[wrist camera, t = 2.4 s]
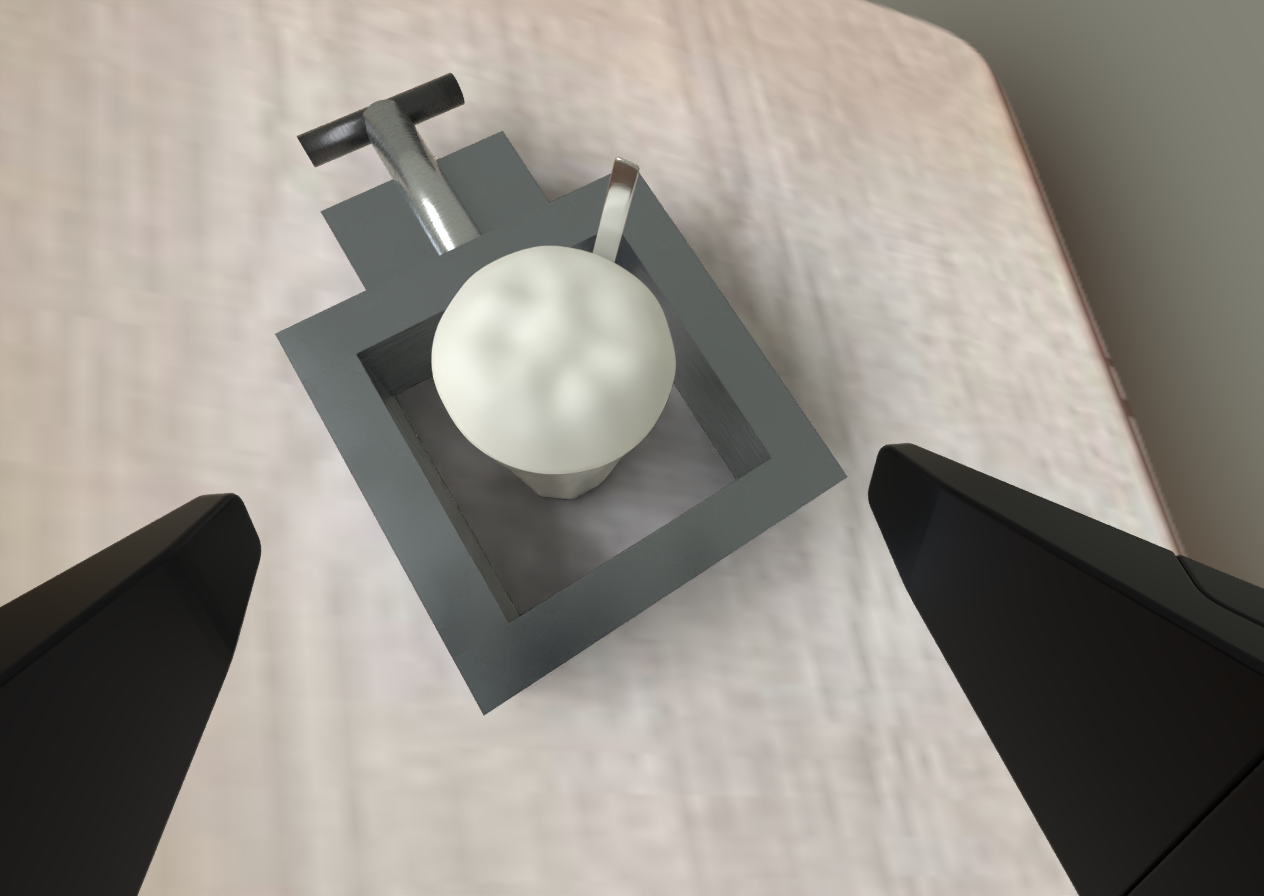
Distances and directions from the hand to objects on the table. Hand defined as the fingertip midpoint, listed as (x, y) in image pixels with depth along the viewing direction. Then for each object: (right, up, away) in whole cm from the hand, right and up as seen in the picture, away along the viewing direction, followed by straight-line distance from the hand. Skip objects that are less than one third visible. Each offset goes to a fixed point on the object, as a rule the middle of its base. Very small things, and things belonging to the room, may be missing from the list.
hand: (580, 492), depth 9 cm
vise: (-3, +3, +11) cm, 12 cm away
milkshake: (-1, +1, +11) cm, 11 cm away
